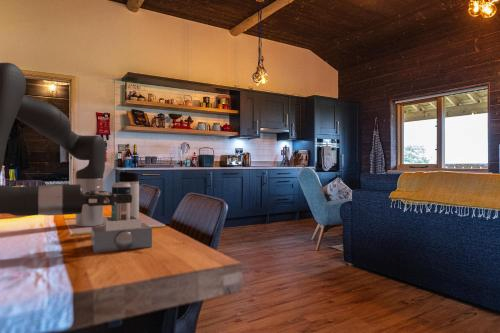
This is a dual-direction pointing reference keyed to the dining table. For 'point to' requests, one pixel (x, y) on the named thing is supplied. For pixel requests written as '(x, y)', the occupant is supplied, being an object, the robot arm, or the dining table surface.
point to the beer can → (121, 209)
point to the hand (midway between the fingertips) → (128, 197)
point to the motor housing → (120, 235)
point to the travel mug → (132, 190)
